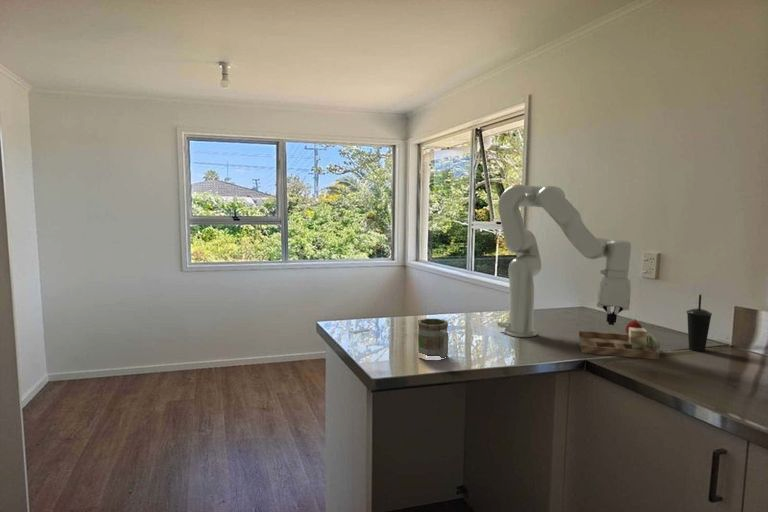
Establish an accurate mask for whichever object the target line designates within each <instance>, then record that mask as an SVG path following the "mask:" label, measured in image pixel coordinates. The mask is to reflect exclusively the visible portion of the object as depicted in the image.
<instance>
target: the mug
mask: <svg viewBox="0 0 768 512" xmlns="http://www.w3.org/2000/svg"><path fill="white" fill-rule="evenodd" d="M417 325H418V326H417V327H418V328H417V329H418V331H417V332H418V334H417V342H418V343H417V345H418V346H417V347H418V349H417V350H418V351H419V353H422V354H425V355H427V356H440V357H441V358H445V357H448V355H449V340H450V339H449V333H448V327H449V323H448V320H445V319H441V318H424V319H419V320H417ZM418 351H417V352H418Z"/></svg>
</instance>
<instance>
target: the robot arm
mask: <svg viewBox="0 0 768 512" xmlns="http://www.w3.org/2000/svg"><path fill="white" fill-rule="evenodd" d="M521 207H531V208H542V209H543V210H544V211H545V212H546V213H547V215H548V216H550V218H552V219H553V221H554V222H555V223H556V224H557V225H558V227H560V229H561V231H562V232H563V234H564V235H565V237H566V238H567V239H568V241H569V243H571V244H572V245H573V247H574V248H575V249H576V250H577V251H578V252H579V254H581V256H582V257H583V258H586V259H588V260H591V261H592V260H593V261H594V260H597V259H600V258H601V259H602V258H603V259H605V258H606V259H605V268H604V269H601V270H600V274H601V275H603V276H602V278H601V280H600V284H599V289H598V293H597V294H598V295H597V302H596V307H597V308H601V309H603V310H604V311H605V312H606V322H607V324H608V325H609V326H615V323H617V317H618V315H619V314H620V312H621V313H622V311H629V310H630V305H631V280H630V279H629V269H630V261H631V259H630V258H631V252H632V251H631V250H632V243H631V242H630V241H628V240H622V239H608V238H607V239H606V238H602V237H595V235H594V234H593V233H592V232H591V231H590V230H589V229H588V227H586V225H585V224H584V222H583V221H582V217H581V214H580V211H579V210H578V209H576V207H575V206H574V205H573V204H572V203H571V202H570V201H569V200H568V199H567V198H566V193H565V191H564V190H563V189H562V188H561V187H559V186H555V185H554V186H553V185H547V186H546V185H545V186H541V185H540V186H539V185H537V186H536V185H527V184H526V185H525V184H513V185H510V186H508V187H507V188H506V189H505V190H504V191H503V192H502V193H501V195H500V196H499V199H498V203H497V209H498V215H499V218H500V223H501V228H502V233H503V238H504V243H505V247H506V249H507V250H508V251H509V252H510V253H513V254H516V255H515V256H516V257H514V258H513V259H512V260H511V261H510V263H509V265H508V267H507V268H508V269H507V270H508V271H507V273H508V281H509V283H508V285H509V292H508V293H509V294H508V295H509V299H508V300H509V303H508V306H509V307H508V309H509V311H508V321H505V322H503V321H498V322H497V327H499V328H503V329H504V328H505V329H504V334H506V335H507V336H510V337H517V338H532V337H536V336H537V335H538V331H537V330H536V329H534V306H535V305H534V304H535V285H534V277H536V276H537V275H539V273H540V272H541V270H542V260H541V255H540V252H539V246H538V243H537V242H538V241H537V238H536V236H535V235H534V233H533V232H532V231H531V230H529V229H526V228H525V224H524V219H523V215H522V213H521V210H520V208H521ZM611 307H613V311H612V308H611Z"/></svg>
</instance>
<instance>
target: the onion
mask: <svg viewBox="0 0 768 512" xmlns="http://www.w3.org/2000/svg"><path fill="white" fill-rule="evenodd" d="M629 327H632V328H643V326H642V324H640V323H639V322H638V321H637V319H636V318H633V319H632V321H630V322H628V323H627V325H626V327H625V334H629Z"/></svg>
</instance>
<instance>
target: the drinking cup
mask: <svg viewBox="0 0 768 512" xmlns="http://www.w3.org/2000/svg"><path fill="white" fill-rule="evenodd" d="M701 304H702V294H698V308H691V309H688V310H686V312H685V313H686V314H687V332H688V333H687V334H688V349H689V350H691V351H694V352H705V351H706V348H707V342H708V335H709V331H710V324H711V317H712V315H713V313H712V312H710V311H708V310H706V309H703V308H701V307H702V305H701Z"/></svg>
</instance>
